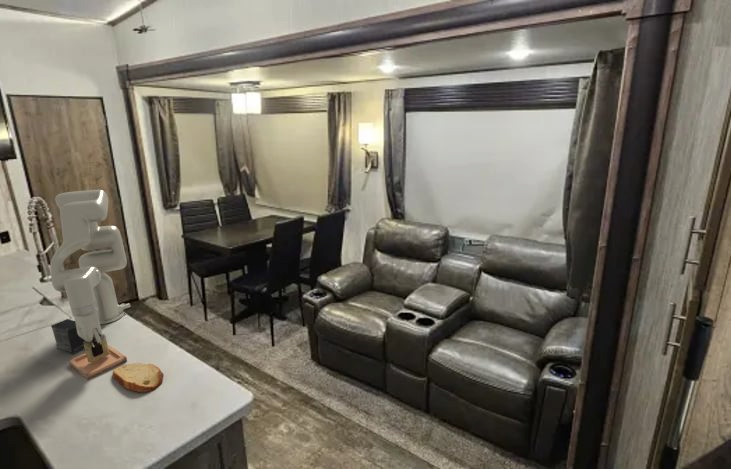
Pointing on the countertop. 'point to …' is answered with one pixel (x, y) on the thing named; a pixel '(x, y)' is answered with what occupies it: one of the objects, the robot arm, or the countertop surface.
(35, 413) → the countertop surface
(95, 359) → the lighter
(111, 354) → the rest tray
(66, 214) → the robot arm
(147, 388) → the slice of bread
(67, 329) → the small box
